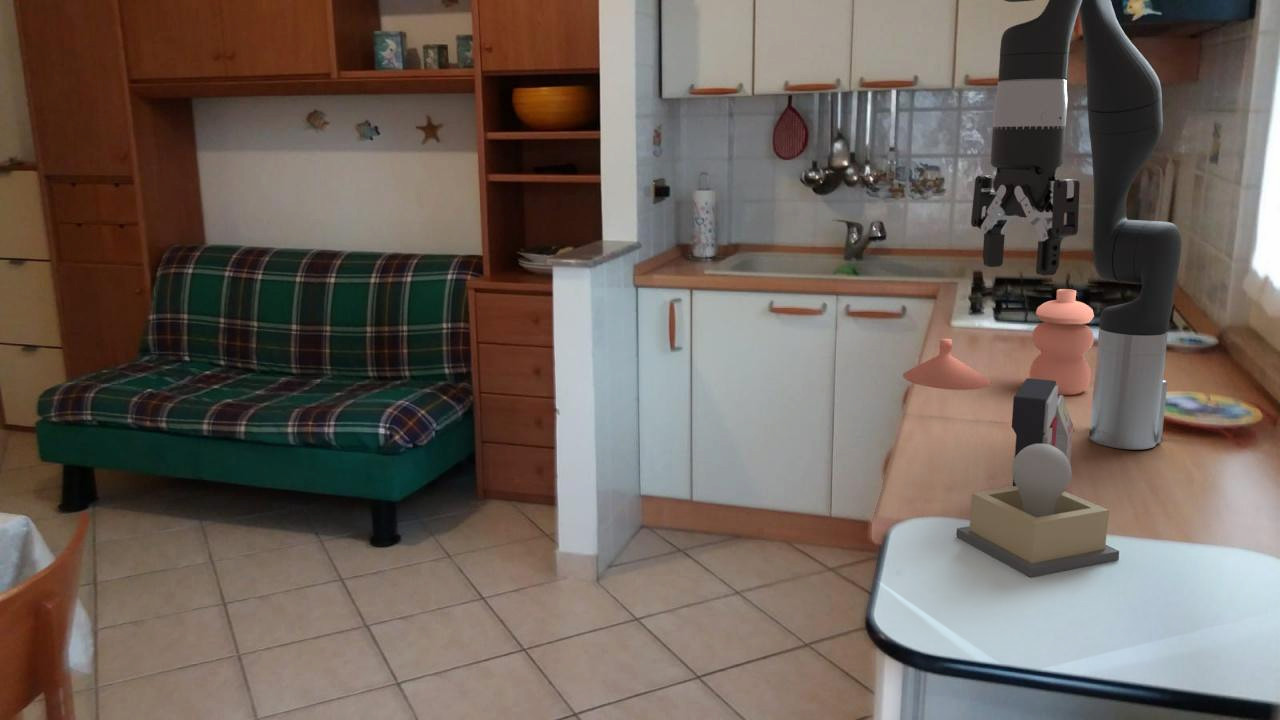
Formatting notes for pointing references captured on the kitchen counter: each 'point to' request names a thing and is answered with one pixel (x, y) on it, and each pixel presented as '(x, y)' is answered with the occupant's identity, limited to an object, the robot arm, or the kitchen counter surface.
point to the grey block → (1063, 428)
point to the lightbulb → (1041, 478)
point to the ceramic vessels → (1054, 338)
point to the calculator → (1035, 414)
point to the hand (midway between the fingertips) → (1018, 270)
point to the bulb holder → (1038, 532)
